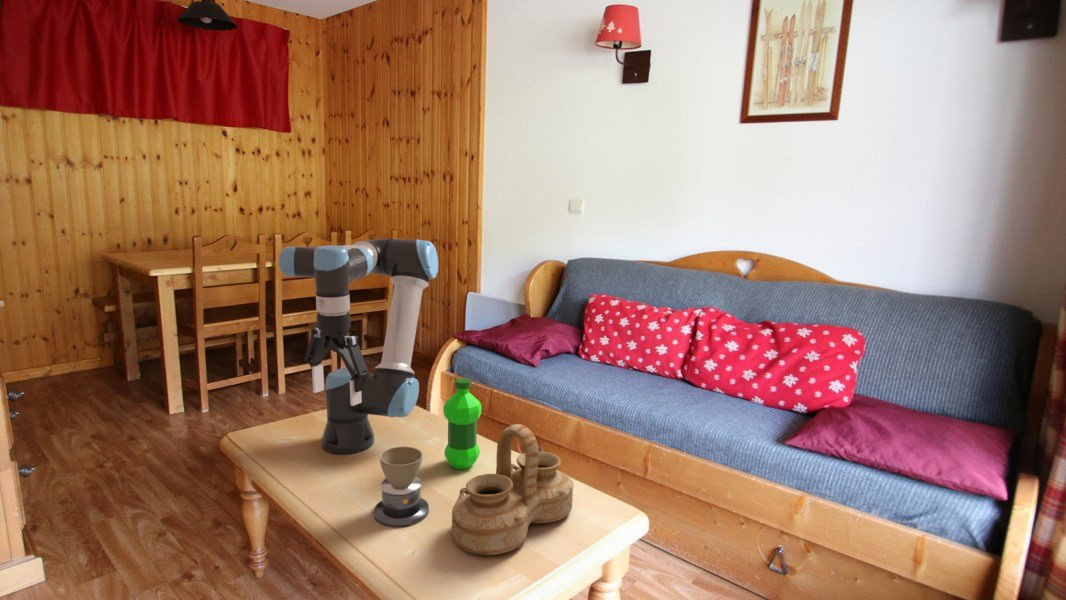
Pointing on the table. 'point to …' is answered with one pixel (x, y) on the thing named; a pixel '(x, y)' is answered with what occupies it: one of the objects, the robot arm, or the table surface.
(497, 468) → the ceramic vessel
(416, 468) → the flower pot
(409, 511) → the grey top hat
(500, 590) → the table surface
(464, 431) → the plastic bottle
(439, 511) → the table surface
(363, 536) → the table surface
